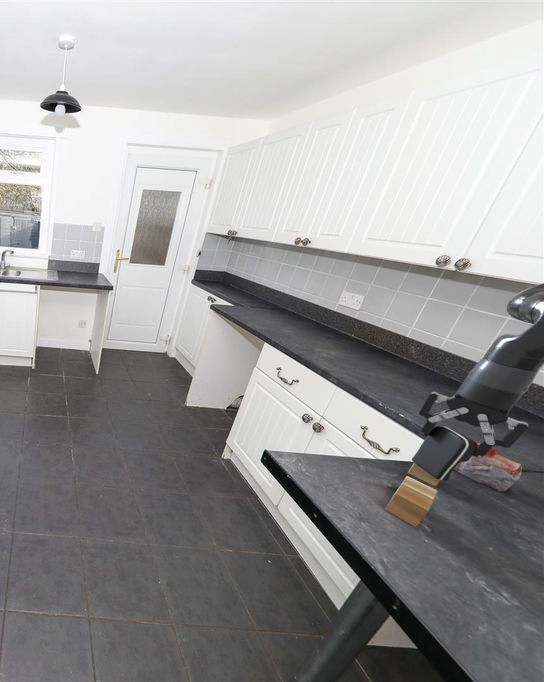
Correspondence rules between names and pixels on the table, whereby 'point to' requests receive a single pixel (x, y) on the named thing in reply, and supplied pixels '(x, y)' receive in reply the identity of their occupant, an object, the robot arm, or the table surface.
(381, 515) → the table surface
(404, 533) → the table surface
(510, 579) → the table surface
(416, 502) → the block
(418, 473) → the block
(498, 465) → the food item
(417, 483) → the block
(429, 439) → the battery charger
